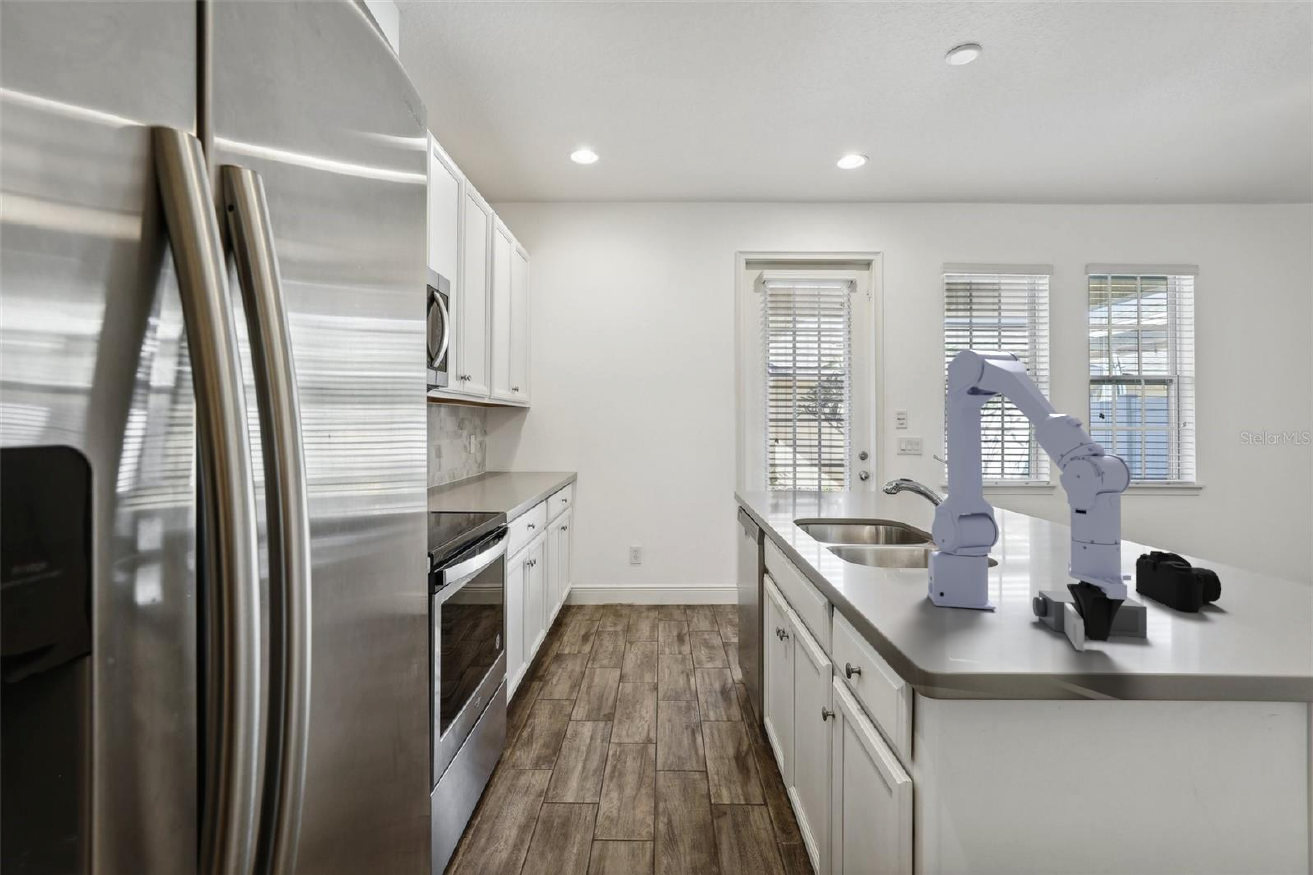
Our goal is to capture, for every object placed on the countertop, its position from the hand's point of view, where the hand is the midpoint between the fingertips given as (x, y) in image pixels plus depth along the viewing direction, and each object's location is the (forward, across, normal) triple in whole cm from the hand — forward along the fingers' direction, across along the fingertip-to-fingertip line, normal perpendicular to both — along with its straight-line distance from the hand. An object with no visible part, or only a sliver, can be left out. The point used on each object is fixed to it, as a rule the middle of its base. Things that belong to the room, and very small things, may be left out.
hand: (1095, 638), depth 85 cm
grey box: (+1, +11, -3) cm, 12 cm away
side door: (+1, +7, +1) cm, 7 cm away
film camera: (+2, +32, -25) cm, 41 cm away
